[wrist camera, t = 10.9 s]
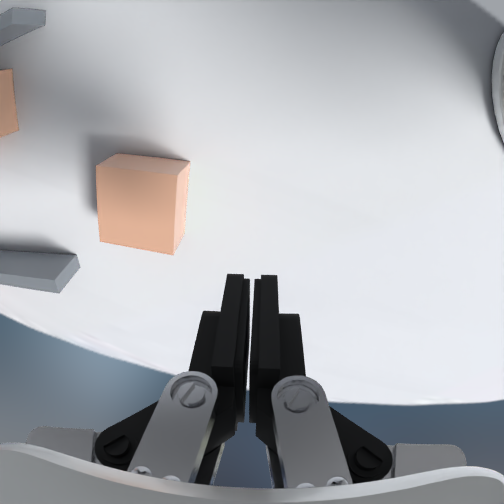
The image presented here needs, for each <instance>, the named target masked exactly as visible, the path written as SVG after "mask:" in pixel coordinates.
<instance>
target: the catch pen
mask: <svg viewBox="0 0 504 504" xmlns="http://www.w3.org/2000/svg"><path fill="white" fill-rule="evenodd" d="M45 13H46V11H45V10H36V9H25V8H11V9H10V10H8V11H6V12H4V13H2V14H1V15H0V46H1V45H3V44H5V43H7V42H9V41H11V40H13V39H15V38H17V37H19V36H22V35H24V34H26V33H28V32H30V31H33V30H35V29H37V28H40V27H42V26H45ZM79 268H80V265H79V262H78V259H77V255H70V254H54V253H38V252H23V251H8V250H0V284H3V285H8V286H14V287H20V288H27V289H33V290H40V291H46V292H53V293H60V292H61V291H62V289H63V288H64V287H65V286H66V284H67V283H68V282H69V281H70V279H71V278H72V277H73V276H74V274H75V273H76V272H77V271H78V269H79Z"/></svg>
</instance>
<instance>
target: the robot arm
mask: <svg viewBox="0 0 504 504" xmlns="http://www.w3.org/2000/svg"><path fill="white" fill-rule="evenodd" d="M492 98H493V104H494V112H495V116H496V120H497V124H498V129H499V132H500V134H501V137H502V140H503V142H504V33H503V34H502V35H501V38H500V40H499V42H498V45H497V47H496V51H495V55H494V60H493V68H492ZM249 337H250V279H244V274H227V278H226V284H225V289H224V295H223V300H222V306H221V312H218V311H203V313H202V316H201V320H200V325H199V329H198V333H197V337H196V341H195V346H194V350H193V354H192V359H191V363H190V367H189V371H188V372H183V373H180V374H178V375H176V376H174V377H173V378H172V379H170V381H169V382H168V384H167V385H166V387H165V389H164V391H163V393H162V396H161V398H160V400H159V401H157V402H155V403H154V404H152V405H150V406H148V407H146V408H145V409H143V410H141V411H139V412H137V413H135V414H134V415H132V416H130V417H128V418H126V419H124V420H122V421H121V422H119V423H117V424H115V425H113V426H111V427H109V428H107V429H106V430H104V431H103V432H95V431H94V429H73V428H59V427H47V426H42V427H37V428H35V429H33V430H32V431H31V432H30V433H29V435H28V437H27V440H26V444H24V443H12V442H11V443H0V504H504V476H503V475H502V474H500V473H499V472H496V471H494V470H491V469H487V468H481V467H467V466H466V459H465V455H464V453H463V452H462V450H461V449H460V448H458V447H456V446H454V445H425V444H424V445H423V444H398V443H397V444H396V445H395V446H387V445H386V444H384V443H383V442H382V441H380V440H379V439H377V438H376V437H374V436H373V435H371V434H370V433H368V432H367V431H365V430H363V429H362V428H361V427H359V426H358V425H356V424H355V423H353V422H352V421H350V420H349V419H347V418H346V417H344V416H343V415H341V414H340V413H339V412H337V411H336V410H334V409H333V408H331V407H330V406H329V404H328V401H327V398H326V395H325V392H324V390H323V388H322V386H321V385H320V384H319V383H318V382H317V381H315V380H313V379H311V378H309V377H306V374H305V363H304V353H303V344H302V334H301V325H300V317H299V314H279V306H278V282H277V275H261V279H255V283H254V301H253V318H252V335H251V352H250V383H249V415H250V416H249V422H250V423H256V436H257V437H258V438H259V439H260V440H261V441H263V442H264V443H265V444H266V450H267V457H268V463H269V468H270V475H271V481H272V487H273V489H260V488H259V489H257V488H236V487H221V486H213V483H214V479H215V476H216V473H217V469H218V466H219V462H220V459H221V456H222V452H223V449H224V443H225V441H227V440H228V439H229V438H231V437H232V436H234V435H235V431H237V424H238V422H244V416H245V401H246V386H247V371H248V355H249Z"/></svg>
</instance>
